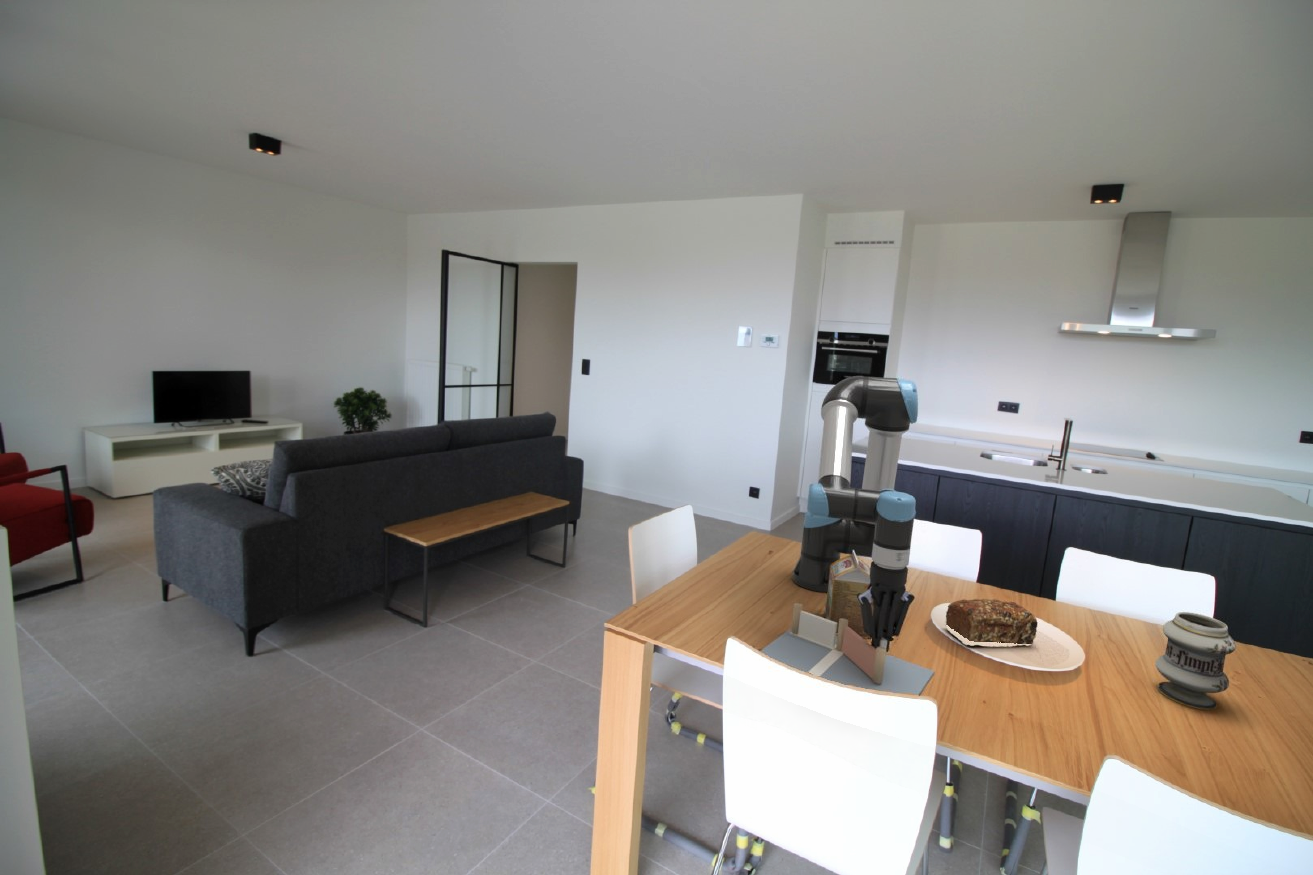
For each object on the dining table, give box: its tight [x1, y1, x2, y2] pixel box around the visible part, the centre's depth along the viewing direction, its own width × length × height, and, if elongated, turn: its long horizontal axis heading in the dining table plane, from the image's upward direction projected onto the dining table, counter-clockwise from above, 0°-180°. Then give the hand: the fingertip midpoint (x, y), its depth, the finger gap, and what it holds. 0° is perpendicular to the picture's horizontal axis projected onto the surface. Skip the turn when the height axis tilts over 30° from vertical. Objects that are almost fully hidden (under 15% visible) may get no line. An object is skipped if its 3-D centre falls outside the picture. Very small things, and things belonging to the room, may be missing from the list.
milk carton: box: [824, 550, 874, 639], centre depth 155 cm, size 11×11×19 cm
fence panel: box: [842, 627, 887, 684], centre depth 133 cm, size 14×2×7 cm, turn 15°
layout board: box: [760, 627, 935, 696], centre depth 136 cm, size 22×33×1 cm, turn 51°
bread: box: [945, 598, 1038, 645], centre depth 153 cm, size 19×11×10 cm, turn 97°
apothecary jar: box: [1155, 611, 1237, 711], centre depth 130 cm, size 12×12×18 cm
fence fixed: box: [790, 602, 848, 651], centre depth 145 cm, size 2×14×7 cm, turn 52°
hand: (877, 664), depth 133 cm, fingers closed
